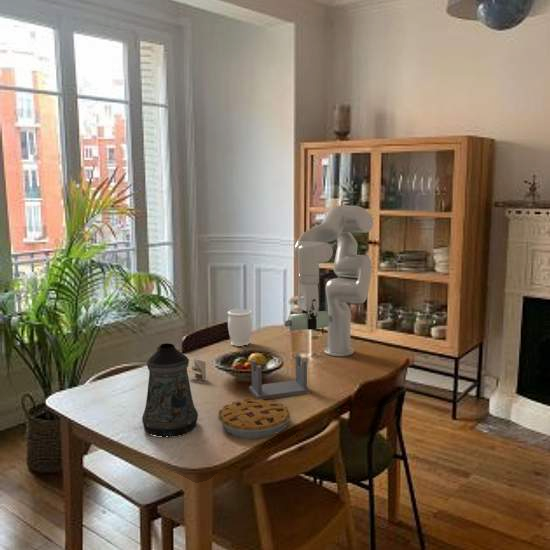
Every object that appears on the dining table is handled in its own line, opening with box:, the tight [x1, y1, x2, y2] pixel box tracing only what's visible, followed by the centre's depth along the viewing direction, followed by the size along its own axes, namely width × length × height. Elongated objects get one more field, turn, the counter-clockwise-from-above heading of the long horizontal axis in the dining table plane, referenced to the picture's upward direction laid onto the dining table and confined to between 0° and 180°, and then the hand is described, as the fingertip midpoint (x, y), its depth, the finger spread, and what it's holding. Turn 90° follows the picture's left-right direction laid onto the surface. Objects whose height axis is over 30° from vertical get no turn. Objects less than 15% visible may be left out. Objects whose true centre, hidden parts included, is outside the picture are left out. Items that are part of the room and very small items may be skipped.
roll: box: [284, 310, 333, 332], centre depth 214 cm, size 6×18×6 cm, turn 109°
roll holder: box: [248, 354, 311, 400], centre depth 202 cm, size 10×19×11 cm, turn 109°
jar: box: [227, 308, 253, 347], centre depth 258 cm, size 11×10×15 cm
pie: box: [217, 398, 291, 439], centre depth 176 cm, size 22×22×5 cm
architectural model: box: [187, 358, 207, 381], centre depth 216 cm, size 3×7×7 cm, turn 52°
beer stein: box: [141, 342, 199, 438], centre depth 175 cm, size 16×19×25 cm
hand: (308, 326), depth 214 cm, fingers closed on roll, 6 cm apart
